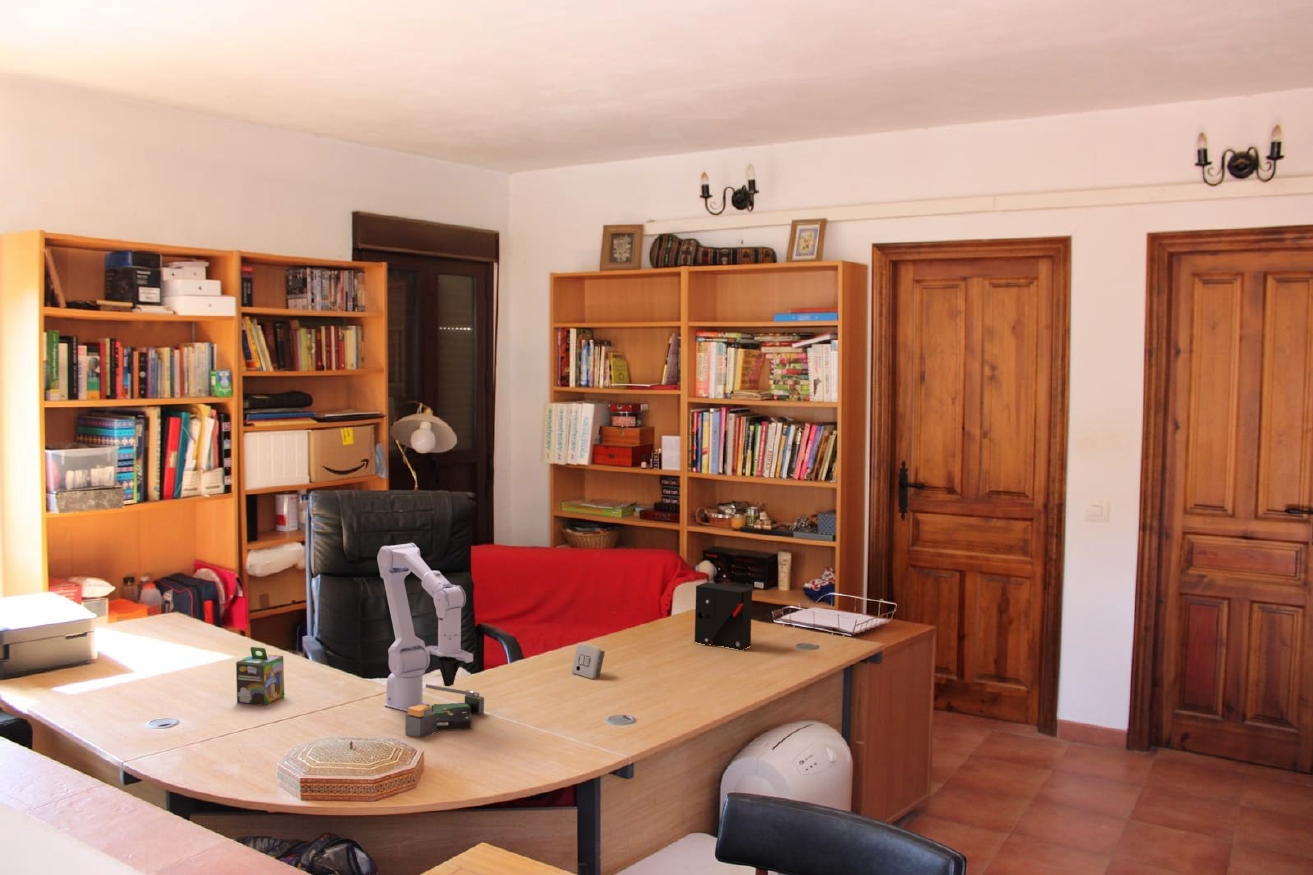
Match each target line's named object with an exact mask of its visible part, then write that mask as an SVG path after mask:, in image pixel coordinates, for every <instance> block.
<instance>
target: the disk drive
mask: <svg viewBox="0 0 1313 875" xmlns="http://www.w3.org/2000/svg"><path fill="white" fill-rule="evenodd" d="M431 711H432V712H436V713H437V731H451V730H452V731H453V730H455V731H456V730H457V731H458V730H469V729H472V719H473V718H472V714H471V704H467V703H465V702H458V703H457V702H456V703H455V702H453V703H452V702H451V703H433V704H432V705H431Z"/></svg>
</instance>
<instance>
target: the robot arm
mask: <svg viewBox="0 0 1313 875" xmlns="http://www.w3.org/2000/svg"><path fill="white" fill-rule="evenodd" d="M420 550H421V549H420V548H419V547H417V545H416V544H415V543H414V542H408V543H403V544H402V543H401V544H396V545H383V546H381V547H380V549H379V551H378V554H377V557H376V558H377V560H376V561H377V565H378V569H379V573H380V574H379V576H380V578H382V579H383V583H384V587H385V593H386V598H387V604H388V608H389V613H390V617H391V622H392V628H393V635H394V637H395V638H394V639H395V641H394V642H393V643H392V644H391V645H390V647H389V648H388V650H387V651H388V668H389V670H390V672H391V673H390V674H389V675H388V677H387V679H386V680H387V681H386V699H385V700H386V703H384V704H383V705H384V706H385V707H388V708H392V709H396V710H400V711H404V712H407V713H408V708H409V707H412V706H413V707H414V706H417V705H420V704H421V705H425V706H429V705H430V702H429V701H424V700H423V696H424V695H423V690H424V689H423V686H424V684H423V681H424V680H423V676H424V674H426V670H427V669H428V667H429V665H430V661H431V660H430V659H431V658H430V655H434V656H437V657H438V658H437V659H435V663H436V665H437V667H438V668H439V671H440V675H441V678H442V682H443V687H447V688H450V687H452V686H454V684H455V679H456V676H457V673H458V670H459V668H460V666H461V665H462V663H463V662H464V663H467V664H469V663H471V662H474V653H471V652H468V651H466V650H463V649H461V644H462V643H461V638H462V637H461V634H462V633H461V632H462V629H461V628H462V627H461V625H462V621H461V620H462V608H463V607H464V606H465V604H466V602H467V595H466V592H465V590H464V589H463V587H462V586H461V585H455V584H451V582H450V581H449V580H448V579H447V578H446V577H445V576H444V575H443V574H442V572H440V570H432V569H431V568H430V566H428V564H427V563H426V562H425V561H424V559H423V558H422V557H421V551H420ZM411 572H412V573H413V574H414V575H415V576H416V577H417V578H419V579H420V580H421V587H422V588H423V589H424V590H425V592H427V594H428V595H429V596H431V597H432V598H433V604H434V607H435V610H436V612H435V614H436V617H437V620H438V623H437V625H438V626H437V627H438V628H437V632H438V634H437V640H438V642H437V645H427V646H426V644H425V641H424V640H423V639H421V638H419V637H417V636H416V633H415V630H414V629H415V628H414V624H413V620H412V615H411V614H412V613H411V609H410V605H409V604H410V603H409V599H408V595H407V590H406V585H405V579H406V577H407V576H408V575H410V574H411Z"/></svg>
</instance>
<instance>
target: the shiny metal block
mask: <svg viewBox="0 0 1313 875" xmlns="http://www.w3.org/2000/svg"><path fill="white" fill-rule="evenodd" d="M464 703H467V704H471V715H476V716H480V715H484V714H485V697H484V696H480V695H479V697H478V698H476V697H471V696H467V695H464ZM404 727H405V736H409V737H412V738H416V737H418V738H417V739H419V738H421V739H423V738H425V736H426V737H428V736H430V734H431V735H433V734H435V733H434V732H436V733H438V730H437V713H436V712H432V710H429V709H427V710H424V716H421V717H417V716H413V715H409V714H408V713H407V714H406V715H405V726H404ZM432 733H433V734H432ZM427 735H428V736H427ZM422 737H423V738H422Z"/></svg>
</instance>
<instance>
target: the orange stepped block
mask: <svg viewBox="0 0 1313 875" xmlns="http://www.w3.org/2000/svg"><path fill="white" fill-rule="evenodd" d="M424 710H430V706H429V705H427V706H425V705H421V704H420V705H417V706H414V707H413V706H412V707H409V708H408V712H407V715H408V714H409V715H413V716H417V717H421V716H424Z"/></svg>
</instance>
